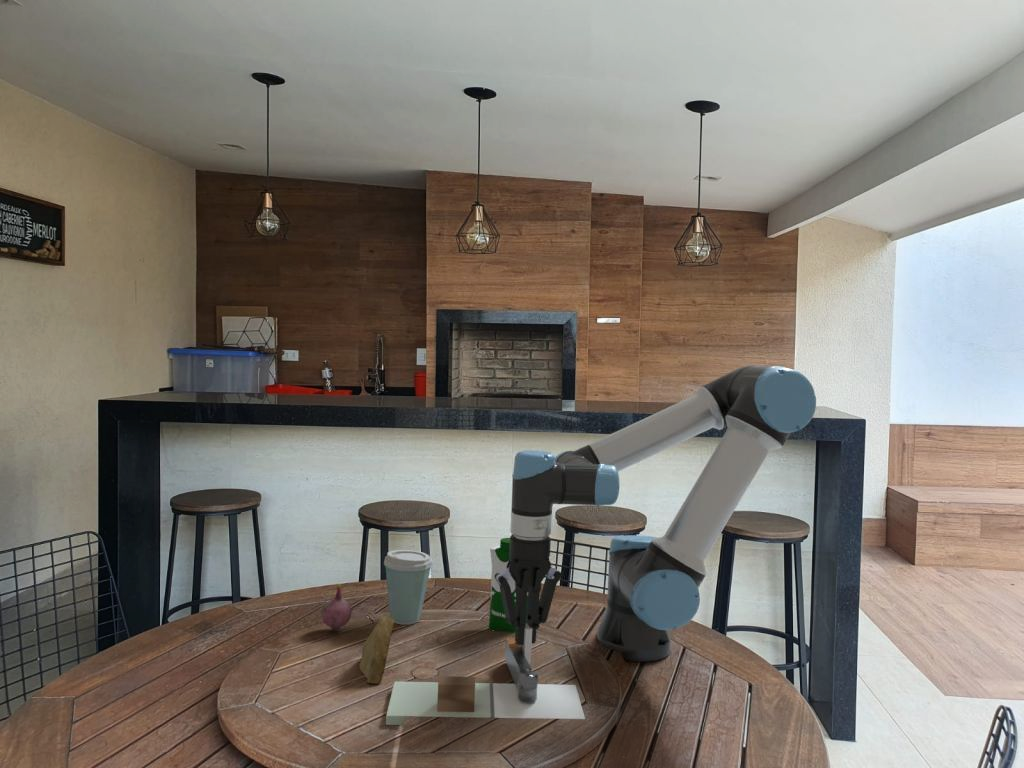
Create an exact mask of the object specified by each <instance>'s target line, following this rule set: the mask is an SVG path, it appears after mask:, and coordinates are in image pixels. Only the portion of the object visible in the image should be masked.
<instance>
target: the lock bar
mask: <svg viewBox="0 0 1024 768" xmlns="http://www.w3.org/2000/svg"><path fill="white" fill-rule="evenodd" d="M520 647H521V645H518V644H517V643H516V641H515V636H514V637H506V638H505V652H504V653H505V654H504V657H505V658H504V661H505V664H506V665H507V669H508V671H509V672H510V674H511V678H512V679H513V680H512V681H513V682H514V684H516V687H517V689H518V699H519V700H520V701H522V702H534V701H536V700H537V684H539V683H538V679H539V678H538V677H539V675H538V673H537V672H536V671H532V667H531V665H530V663H528V661H527V659H526V657H525V656H524V654H523V652H522V650H521V648H520Z"/></svg>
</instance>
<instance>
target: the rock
mask: <svg viewBox="0 0 1024 768" xmlns="http://www.w3.org/2000/svg"><path fill="white" fill-rule="evenodd" d="M393 627H394V619H393V618H391V617H390V615H388V614H384V615H383V616H382V617H381V618H379V621H378V622H377V624H375V626H374V629H372V631H371V633H370V634H369V636H368V637H367V638H366V640H365V642H364V644H363V646H362V648H361V649H362V650H361V651H362V652H361V653H362V655H361V658H360V659H359V660H360V663H359V665H358V667H359V670H360V671H361V673H363V676H364V677H365V678H366V682H367V683H368V684H381V683H382V681H383V675H384V673H385V669H386V664H387V663H386V661H387V658H388V653H389V650H390V649H389V648H390V644H391V637H392V631H393Z"/></svg>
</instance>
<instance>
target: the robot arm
mask: <svg viewBox="0 0 1024 768" xmlns="http://www.w3.org/2000/svg"><path fill="white" fill-rule="evenodd" d="M816 409H817V397H816V394H815V389H814V387H813V384H812V383H811V382H810V380H809V379H808V377H806V376H805V375H804V374H803V373H801V372H800V371H798V370H796V369H793V368H788V367H786V366H781V365H775V366H765V365H759V364H758V365H755V364H753V365H752V364H751V365H746V366H742V367H739V368H737V369H735V370H733V371H730V372H729V373H726V374H724V375H721V376H720V377H718V378H716V379H714V380H712V381H710V382H709V383H706V384H704V385H702V386H699V387H698V389H697V391H696V394H695V395H692V396H690V397H688V398H685V399H683V400H681V401H678V402H677V403H675V404H672V405H670V406H668V407H666V408H664V409H662V410H659V411H658V412H655V413H654V414H652V415H649V416H647V417H645V418H643V419H640V420H638V421H636V422H634V423H632V424H630V425H627V426H625V427H623V428H622V429H619V430H617V431H614V432H612V433H610V434H609V435H608V434H607V435H606V436H604V437H602V438H599V439H598V440H595V441H593V442H591V443H589V444H587V445H585V446H583V447H579V448H578V449H576V450H565V451H562V452H560V453H558V454H557V455H555V454H554V453H553V452H551V451H550V452H549V451H546V450H533V449H532V450H531V449H529V450H522V451H521V450H520V451H519V452H517V453H516V454H515V456H514V464H513V473H512V474H511V475H512V484H511V486H512V487H511V488H512V489H511V491H512V492H511V512H510V513H511V514H510V528H509V529H510V530H509V532H510V534H511V535H510V536H509V538H510V549H509V556H510V559H509V562H508V564H507V569H506V570H504V571H503V572H502V573H501V574H500V573H496V574H495V579H496V581H497V582H498V584H499V586H500V591H501V596H502V601H503V607H504V612H505V617H506V621H507V622H508V623H509V624H510V625H511V626H513V627H516V629H515V634H514V637H515V641H516V643H517V644H518V645H521V647H520V648H521V650H522V652H523V654H524V656H525V657H526V659H527V661H528V663H529V664H532V663H531V662H532V644H533V645H534V644H535V643H536V641H537V629H540V625H541V624H546V622H547V620H548V617H549V614H550V613H549V612H550V609H551V606H552V602H553V600H554V599H553V598H554V594H555V591H556V587H557V584H558V582H559V581H560V579H561V578H562V576H563V574H562V572H561V571H559V570H558V569H556V568H554V567H552V563H551V561H550V556H551V545H552V544H551V541H552V539H551V537H550V535H551V534H552V520H553V518H552V517H553V505H577V506H578V505H580V506H596V507H600V506H610V505H614V504H615V503H616V502H617V500H618V498H619V493H620V475H619V472H620V471H623V470H625V469H627V468H629V467H631V466H633V465H635V464H638V463H640V462H642V461H644V460H647V459H649V458H650V457H653V456H655V455H657V454H659V453H661V452H664V451H666V450H668V449H670V448H673V447H674V446H676V445H679V444H681V443H683V442H685V441H687V440H689V439H692V438H694V437H696V436H698V435H700V434H703V433H704V432H707V431H708V430H711V429H716V430H719V431H720V430H723V429H724V428H726V427H727V429H726V431H725V432H724V434H723V436H722V438H721V439H720V441H719V442H718V444H717V446H716V447H715V450H714V451H713V452H712V454H711V456H710V457H709V459H708V461H707V463H706V465H705V466H704V468H703V469H702V471H701V473H700V475H699V476H698V477H697V479H696V481H695V483H694V485H693V486H692V488H691V489H690V491H689V493H688V495H687V496H686V498H685V500H684V501H683V503H682V505H681V506H680V508H679V509H678V511H677V514H676V515H675V517H674V518H673V520H672V521H671V523H670V525H669V526H668V529H667V530H666V531H665V534H663V536H661V537H660V536H659V537H656V536H649V535H636V534H635V535H634V534H633V535H631V534H630V535H629V534H628V535H618V536H615V537H613V538H612V539H611V540H610V544H609V550H608V555H609V557H608V576H607V579H608V581H607V600H606V601H607V602H606V603H607V604H606V610H605V611H604V614H603V616H602V619H601V622H600V624H599V626H598V628H597V629H598V630H597V632H596V639H597V641H598V643H600V644H601V645H602V646H603V647H605V648H607V649H609V650H612V651H615V652H617V653H620V655H621V657H622V659H623V660H625V661H631V662H644V663H645V662H654V661H659V660H663V659H664V658H667V657H668V656H669V655H670V653H671V648H672V646H671V645H672V644H671V643H672V641H671V640H672V639H671V636H670V632H669V631H671V630H675V629H679V628H682V627H683V626H685V625H687V624H689V622H691V621H692V620H693V618H694V617H695V616H696V614H697V613H698V611H699V607H700V603H701V597H700V590H699V588H700V586H701V584H702V583H703V581H704V579H705V578H706V575H707V573H708V572H707V570H706V569H707V568H706V565H705V561H706V559H707V558H708V555H709V553H710V552H711V550H712V548H713V547H714V546H715V543H716V542H717V540H718V539H719V537H720V535H721V533H722V532H723V530H724V528H725V527H726V525H727V523H728V521H730V519H731V517H732V515H733V513H734V512H735V510H736V508H737V506H738V505H739V503H740V501H742V498H743V496H744V495H745V493H746V491H747V490H748V488H749V487H750V485H751V483H752V481H753V480H754V478H755V476H756V475H757V473H758V471H759V470H760V468H761V467H762V465H763V463H764V462H765V460H766V458H767V456H768V455H769V454H770V452H772V451H775V450H781V449H782V448H783V446H784V444H786V443H785V442H786V441H787V439H788V438H789V436H791V435H790V434H791V433H795V432H798V431H801V430H802V429H804V428H805V427H806V426H807V425H808V424H809V423H810V422H811V421H812V419H813V417H814V415H815V413H816ZM510 575H511V577H512V578H513V580H514V581H515V587H516V603H515V609H514V603H513V598H512V593H511V588H510V585H509V584H508V583H510ZM543 580H544V582H543ZM542 582H543V587H542ZM527 593H528V604H527ZM540 593H541V594H540ZM526 612H527V622H528V624H527V623H526Z"/></svg>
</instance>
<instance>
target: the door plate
mask: <svg viewBox="0 0 1024 768" xmlns="http://www.w3.org/2000/svg"><path fill="white" fill-rule="evenodd" d="M437 702H438V682H436V681H435V682H433V681H394V683H393V686H392V691H391V696H390V699H389V703H388V708H387V712H386V716H385V719H386V721H385V726H386V725H387V726H404V725H405V719H406V717H424V718H425V717H427V718H428V717H429V718H431V717H434V718H437V717H438V718H489V719H490V718H492V719H493V718H494V719H539V720H541V719H545V720H548V719H553V720H555V719H557V720H586V716H585V714H584V711H583V707H582V704H581V699H580V696H579V693H578V689H577V686H576V684H553V683H549V684H547V683H545V684H543V683H542V684H541V683H540V684H539V683H537V700H536V701H534V702H522V701H520V700H519V699H518V689H517V687H516V684H515V683H501V682H500V683H497V682H496V683H494V682H487V683H486V682H475V702H474V712H437Z"/></svg>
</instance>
